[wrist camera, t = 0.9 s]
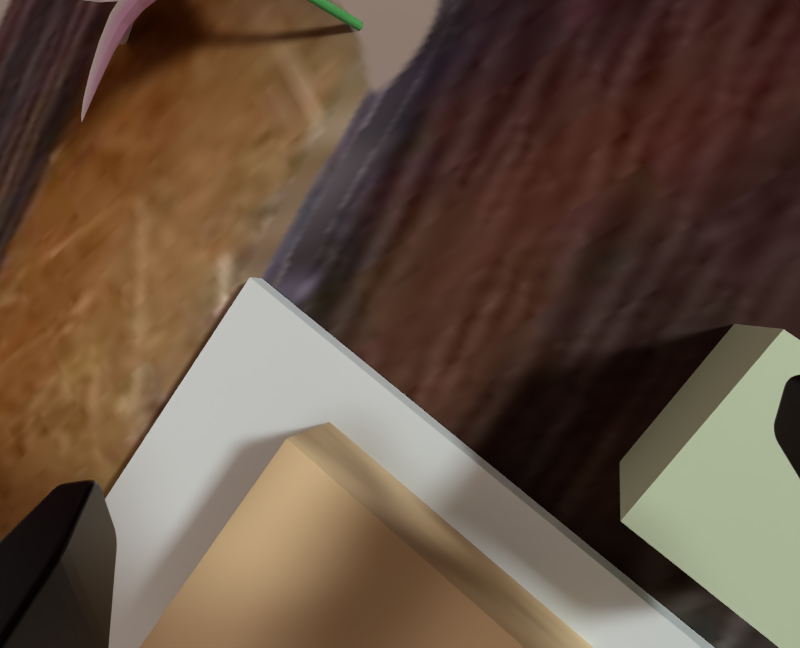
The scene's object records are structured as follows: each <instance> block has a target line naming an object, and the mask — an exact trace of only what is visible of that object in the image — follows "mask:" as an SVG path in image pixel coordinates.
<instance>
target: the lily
mask: <svg viewBox="0 0 800 648" xmlns="http://www.w3.org/2000/svg"><path fill="white" fill-rule="evenodd" d="M86 1H95V2H111V1H118V2H117V4H116V5H115V7H114V8H113V10H112V11H111V13H110V15H109V18H108V20H107V23H106V25H105V28H104V30H103V33H102V35H101V38H100V40H99V43H98V47H97V50H96V53H95V57H94V60H93V63H92V66H91V70H90V73H89V78H88V82H87V86H86V90H85V94H84V99H83V106H82V113H81V120H82V121H83V119H84V117H85V114H86V112H87V110H88V108H89V105H90V103H91V101H92V99H93V96H94V94H95V92H96V89H97V87H98V85H99V83H100V80H101V78H102V76H103V74H104V72H105V70H106V68H107V66H108V64H109V62H110V60H111V58H112V55H113V53H114V51H115V50H116V48H117V46H118V45H119V43H120V44H122V45H124V44H125V43H126V42H127V40H128V38H129V35H130V32H131V29H132V25H133V22H134V21H135V20H136V18H137V17H138V16H139V15H140V14H141V13H142V11H143V10H144V9H146V8H147V7H148V6H149V5H151V4H152V3H153V2H155V1H156V0H86ZM308 1H309V2H311V3H313V4H314V5H316V6H318V7H319V8H321V9H323V10H324V11H326V12H328V13H329V14H331V15H333V16H334V17H336V18H338V19H339V20H341V21H343V22H344V23H346V24H348V25H349V26H351V27H353V28H354V29H356V30H358V31H360V30H361V29H362V27H363V22H362V21H359V20H358V19H357V18H355V17H353V16H352V15H350V14H348V13H347V12H345V11H343V10H342V9H340V8H339V7H337V6H335V5H334V4H332V3H330V2H329V1H327V0H308Z"/></svg>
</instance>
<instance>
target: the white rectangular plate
mask: <svg viewBox="0 0 800 648" xmlns="http://www.w3.org/2000/svg"><path fill="white" fill-rule="evenodd" d="M329 422H330V423H332V424H333V425H334V426H335V427H336V428H337V429H339V430H340V431H341V432H342V433H343V434H344V435H346V436H347V437H348V438H349V439H350V440H351V441H353V442H354V443H355V444H356V445H357V446H358V447H360V448H361V449H362V450H363V451H364V452H366V453H367V454H368V455H369V456H370V457H371V458H373V459H374V460H375V461H376V462H377V463H378V464H380V465H381V466H382V467H383V468H384V469H385V470H387V471H388V472H389V473H390V474H391V475H392V476H394V477H395V478H396V479H397V480H398V481H399V482H401V483H402V484H403V485H404V486H405V487H406V488H408V489H409V490H410V491H411V492H412V493H413V494H415V495H416V496H417V497H418V498H419V499H420V500H422V501H423V502H424V503H425V504H426V505H427V506H429V507H430V508H431V509H432V510H433V511H435V512H436V513H437V514H438V515H439V516H440V517H442V518H443V519H444V520H445V521H446V522H447V523H449V524H450V525H451V526H452V527H453V528H454V529H456V530H457V531H458V532H459V533H460V534H461V535H463V536H464V537H465V538H466V539H467V540H468V541H470V542H471V543H472V544H473V545H474V546H475V547H477V548H478V549H479V550H480V551H481V552H482V553H484V554H485V555H486V556H487V557H488V558H489V559H491V560H492V561H493V562H494V563H495V564H497V565H498V566H499V567H500V568H501V569H502V570H504V571H505V572H506V573H507V574H508V575H509V576H511V577H512V578H513V579H514V580H515V581H516V582H518V583H519V584H520V585H521V586H522V587H523V588H525V589H526V590H527V591H528V592H529V593H530V594H532V595H533V596H534V597H535V598H536V599H537V600H539V601H540V602H541V603H542V604H543V605H544V606H546V607H547V608H548V609H549V610H550V611H551V612H553V613H554V614H555V615H556V616H557V617H558V618H560V619H561V620H562V621H563V622H564V623H566V624H567V625H568V626H569V627H570V628H571V629H573V630H574V631H575V632H576V633H577V634H578V635H580V636H581V637H582V638H583V639H584V640H585V641H587V642H588V643H589V644H590V645H591V646H592V647H593V648H714V647H713V646H712V645H711V644H709V643H708V642H707V641H706V640H704V639H703V638H702V637H701V636H699V635H698V634H697V633H696V632H695V631H693V630H692V629H691V628H690V627H688V626H687V625H686V624H685V623H684V622H682V621H681V620H680V619H679V618H677V617H676V616H675V615H674V614H673V613H671V612H670V611H669V610H668V609H666V608H665V607H664V606H663V605H661V604H660V603H659V602H658V601H657V600H655V599H654V598H653V597H652V596H650V595H649V594H648V593H647V592H646V591H644V590H643V589H642V588H641V587H639V586H638V585H637V584H636V583H635V582H633V581H632V580H631V579H630V578H628V577H627V576H626V575H625V574H623V573H622V572H621V571H620V570H619V569H617V568H616V567H615V566H614V565H612V564H611V563H610V562H609V561H608V560H606V559H605V558H604V557H603V556H601V555H600V554H599V553H598V552H597V551H595V550H594V549H593V548H592V547H590V546H589V545H588V544H587V543H585V542H584V541H583V540H582V539H581V538H579V537H578V536H577V535H576V534H574V533H573V532H572V531H571V530H570V529H568V528H567V527H566V526H565V525H563V524H562V523H561V522H560V521H559V520H557V519H556V518H555V517H554V516H552V515H551V514H550V513H549V512H547V511H546V510H545V509H544V508H543V507H541V506H540V505H539V504H538V503H536V502H535V501H534V500H533V499H532V498H530V497H529V496H528V495H527V494H525V493H524V492H523V491H522V490H521V489H519V488H518V487H517V486H516V485H514V484H513V483H512V482H511V481H509V480H508V479H507V478H506V477H505V476H503V475H502V474H501V473H500V472H498V471H497V470H496V469H495V468H494V467H492V466H491V465H490V464H489V463H487V462H486V461H485V460H484V459H483V458H481V457H480V456H479V455H478V454H476V453H475V452H474V451H473V450H472V449H470V448H469V447H468V446H467V445H465V444H464V443H463V442H462V441H460V440H459V439H458V438H457V437H456V436H454V435H453V434H452V433H451V432H449V431H448V430H447V429H446V428H445V427H443V426H442V425H441V424H440V423H438V422H437V421H436V420H435V419H434V418H432V417H431V416H430V415H429V414H427V413H426V412H425V411H424V410H422V409H421V408H420V407H419V406H418V405H416V404H415V403H414V402H413V401H411V400H410V399H409V398H408V397H407V396H405V395H404V394H403V393H402V392H400V391H399V390H398V389H397V388H396V387H394V386H393V385H392V384H391V383H389V382H388V381H387V380H386V379H384V378H383V377H382V376H381V375H380V374H378V373H377V372H376V371H375V370H373V369H372V368H371V367H370V366H369V365H367V364H366V363H365V362H364V361H362V360H361V359H360V358H359V357H358V356H356V355H355V354H354V353H353V352H351V351H350V350H349V349H348V348H346V347H345V346H344V345H343V344H342V343H340V342H339V341H338V340H337V339H335V338H334V337H333V336H332V335H331V334H329V333H328V332H327V331H326V330H324V329H323V328H322V327H321V326H320V325H318V324H317V323H316V322H315V321H313V320H312V319H311V318H310V317H308V316H307V315H306V314H305V313H304V312H302V311H301V310H300V309H299V308H297V307H296V306H295V305H294V304H293V303H291V302H290V301H289V300H288V299H286V298H285V297H284V296H283V295H282V294H280V293H279V292H278V291H277V290H275V289H274V288H273V287H272V286H270V285H269V284H268V283H267V282H266V281H264V280H263V279H262V278H252V277H250V278H249V279H248V281H247V282H246V284H245V285H244V287H243V289H242V290H241V292H240V293H239V295H238V296H237V298H236V299H235V301H234V302H233V304H232V305H231V307H230V308H229V310H228V312H227V313H226V315H225V316H224V318H223V319H222V321H221V322H220V324H219V325H218V327H217V328H216V330H215V331H214V333H213V335H212V336H211V338H210V339H209V341H208V342H207V344H206V345H205V347H204V348H203V350H202V351H201V353H200V354H199V356H198V357H197V359H196V361H195V362H194V364H193V365H192V367H191V368H190V370H189V371H188V373H187V374H186V376H185V377H184V379H183V380H182V382H181V384H180V385H179V387H178V388H177V390H176V391H175V393H174V394H173V396H172V397H171V399H170V400H169V402H168V403H167V405H166V406H165V408H164V410H163V411H162V413H161V414H160V416H159V417H158V419H157V420H156V422H155V423H154V425H153V426H152V428H151V429H150V431H149V433H148V434H147V436H146V437H145V439H144V440H143V442H142V443H141V445H140V446H139V448H138V449H137V451H136V452H135V454H134V456H133V457H132V459H131V460H130V462H129V463H128V465H127V466H126V468H125V469H124V471H123V472H122V474H121V475H120V477H119V478H118V480H117V482H116V483H115V485H114V486H113V488H112V489H111V491H110V492H109V494H108V495H107V497H106V498H105V501H106V504H107V507H108V510H109V513H110V516H111V519H112V522H113V524H114V528H115V532H116V539H117V551H116V563H115V575H114V587H113V600H112V612H111V624H110V636H109V648H139V647H140V646H141V645H142V643H143V642H144V640H145V639H146V637H147V636H148V635H149V633H150V632H151V630H152V629H153V628H154V626H155V625H156V623H157V622H158V620H159V619H160V618H161V616H162V615H163V613H164V612H165V610H166V609H167V608H168V606H169V605H170V603H171V602H172V601H173V599H174V598H175V596H176V595H177V593H178V592H179V591H180V589H181V588H182V586H183V585H184V583H185V582H186V581H187V579H188V578H189V576H190V575H191V574H192V572H193V571H194V569H195V568H196V566H197V565H198V564H199V562H200V561H201V559H202V558H203V556H204V555H205V554H206V552H207V551H208V549H209V548H210V547H211V545H212V544H213V542H214V541H215V539H216V538H217V537H218V535H219V534H220V532H221V531H222V529H223V528H224V527H225V525H226V524H227V522H228V521H229V520H230V518H231V517H232V515H233V514H234V512H235V511H236V510H237V508H238V507H239V505H240V504H241V502H242V501H243V500H244V498H245V497H246V495H247V494H248V493H249V491H250V490H251V488H252V487H253V485H254V484H255V483H256V481H257V480H258V478H259V477H260V475H261V474H262V473H263V471H264V470H265V468H266V467H267V466H268V464H269V463H270V461H271V460H272V458H273V457H274V456H275V454H276V453H277V451H278V450H279V448H280V447H281V446H282V444H283V443H284V441H285V440H286V439H287V438H289V437H292V436H294V435H297V434H300V433H302V432H305V431H307V430H310V429H313V428H315V427H318V426H321V425H323V424H326V423H329Z"/></svg>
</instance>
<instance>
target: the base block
mask: <svg viewBox="0 0 800 648" xmlns="http://www.w3.org/2000/svg"><path fill="white" fill-rule="evenodd" d="M139 648H593V647H592V646H591V645H590V644H589V643H588V642H587V641H585V640H584V639H583V638H582V637H581V636H580V635H578V634H577V633H576V632H575V631H574V630H573V629H571V628H570V627H569V626H568V625H567V624H566V623H564V622H563V621H562V620H561V619H560V618H558V617H557V616H556V615H555V614H554V613H553V612H551V611H550V610H549V609H548V608H547V607H546V606H544V605H543V604H542V603H541V602H540V601H539V600H537V599H536V598H535V597H534V596H533V595H532V594H530V593H529V592H528V591H527V590H526V589H525V588H523V587H522V586H521V585H520V584H519V583H518V582H516V581H515V580H514V579H513V578H512V577H511V576H509V575H508V574H507V573H506V572H505V571H504V570H502V569H501V568H500V567H499V566H498V565H497V564H495V563H494V562H493V561H492V560H491V559H489V558H488V557H487V556H486V555H485V554H484V553H482V552H481V551H480V550H479V549H478V548H477V547H475V546H474V545H473V544H472V543H471V542H470V541H468V540H467V539H466V538H465V537H464V536H463V535H461V534H460V533H459V532H458V531H457V530H456V529H454V528H453V527H452V526H451V525H450V524H449V523H447V522H446V521H445V520H444V519H443V518H442V517H440V516H439V515H438V514H437V513H436V512H435V511H433V510H432V509H431V508H430V507H429V506H427V505H426V504H425V503H424V502H423V501H422V500H420V499H419V498H418V497H417V496H416V495H415V494H413V493H412V492H411V491H410V490H409V489H408V488H406V487H405V486H404V485H403V484H402V483H401V482H399V481H398V480H397V479H396V478H395V477H394V476H392V475H391V474H390V473H389V472H388V471H387V470H385V469H384V468H383V467H382V466H381V465H380V464H378V463H377V462H376V461H375V460H374V459H373V458H371V457H370V456H369V455H368V454H367V453H366V452H364V451H363V450H362V449H361V448H360V447H358V446H357V445H356V444H355V443H354V442H353V441H351V440H350V439H349V438H348V437H347V436H346V435H344V434H343V433H342V432H341V431H340V430H339V429H337V428H336V427H335V426H334V425H333V424H332V423H330V422H329V423H326V424H323V425H321V426H318V427H315V428H313V429H310V430H307V431H305V432H302V433H300V434H297V435H294V436H292V437H289V438H287V439H286V440H285V441H284V443H283V444H282V446H281V447H280V448H279V450H278V451H277V453H276V454H275V456H274V457H273V458H272V460H271V461H270V463H269V464H268V466H267V467H266V468H265V470H264V471H263V473H262V474H261V475H260V477H259V478H258V480H257V481H256V483H255V484H254V485H253V487H252V488H251V490H250V491H249V493H248V494H247V495H246V497H245V498H244V500H243V501H242V502H241V504H240V505H239V507H238V508H237V510H236V511H235V512H234V514H233V515H232V517H231V518H230V520H229V521H228V522H227V524H226V525H225V527H224V528H223V529H222V531H221V532H220V534H219V535H218V537H217V538H216V539H215V541H214V542H213V544H212V545H211V547H210V548H209V549H208V551H207V552H206V554H205V555H204V556H203V558H202V559H201V561H200V562H199V564H198V565H197V566H196V568H195V569H194V571H193V572H192V574H191V575H190V576H189V578H188V579H187V581H186V582H185V583H184V585H183V586H182V588H181V589H180V591H179V592H178V593H177V595H176V596H175V598H174V599H173V601H172V602H171V603H170V605H169V606H168V608H167V609H166V610H165V612H164V613H163V615H162V616H161V618H160V619H159V620H158V622H157V623H156V625H155V626H154V628H153V629H152V630H151V632H150V633H149V635H148V636H147V637H146V639H145V640H144V642H143V643H142V645H141V646H140V647H139Z"/></svg>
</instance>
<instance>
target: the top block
mask: <svg viewBox="0 0 800 648" xmlns="http://www.w3.org/2000/svg"><path fill="white" fill-rule="evenodd" d="M795 375H800V340H799V339H797V338H796V337H794V336H793V335H791V334H790V333H788V332H787V331H785V330H784V329H776V328H767V327H757V326H748V325H739V324H734V325H733V326H732V327H731V328H730V330H729V331H728V332H727V333H726V334H725V336H724V337H723V338H722V339H721V340H720V342H719V343H718V344H717V345H716V346H715V348H714V349H713V350H712V351H711V352H710V354H709V355H708V356H707V357H706V358H705V360H704V361H703V362H702V363H701V365H700V366H699V367H698V368H697V369H696V371H695V372H694V373H693V374H692V375H691V377H690V378H689V379H688V380H687V381H686V383H685V384H684V385H683V386H682V387H681V389H680V390H679V391H678V392H677V393H676V395H675V396H674V397H673V398H672V399H671V401H670V402H669V403H668V404H667V405H666V407H665V408H664V409H663V410H662V411H661V413H660V414H659V415H658V416H657V417H656V419H655V420H654V421H653V422H652V423H651V425H650V426H649V427H648V428H647V430H646V431H645V432H644V433H643V434H642V436H641V437H640V438H639V439H638V440H637V442H636V443H635V444H634V445H633V446H632V448H631V449H630V450H629V451H628V452H627V454H626V455H625V456H624V457H623V458H622V460H621V461H620V521H621V522H622V523H623V524H625V525H626V526H627V527H628V528H630V529H631V530H632V531H633V532H635V533H636V534H637V535H638V536H640V537H641V538H642V539H643V540H645V541H646V542H647V543H648V544H650V545H651V546H652V547H654V548H655V549H656V550H657V551H659V552H660V553H661V554H662V555H664V556H665V557H666V558H667V559H669V560H670V561H671V562H672V563H674V564H675V565H676V566H677V567H679V568H680V569H681V570H682V571H684V572H685V573H686V574H687V575H689V576H690V577H691V578H692V579H694V580H695V581H696V582H697V583H699V584H700V585H701V586H702V587H704V588H705V589H706V590H708V591H709V592H710V593H711V594H713V595H714V596H715V597H716V598H718V599H719V600H720V601H721V602H723V603H724V604H725V605H726V606H728V607H729V608H730V609H731V610H733V611H734V612H735V613H736V614H738V615H739V616H740V617H741V618H743V619H744V620H745V621H746V622H748V623H749V624H750V625H751V626H753V627H754V628H755V629H756V630H758V631H759V632H760V633H762V634H763V635H764V636H765V637H767V638H768V639H769V640H770V641H772V642H773V643H774V644H775V645H777V646H778V647H779V648H800V479H799V477H798V475H797V474H796V472H795V470H794V469H793V467H792V465H791V464H790V462H789V460H788V459H787V457H786V455H785V454H784V452H783V451H782V449H781V447H780V446H779V444H778V442H777V440H776V437H775V433H774V421H775V418H776V414H777V411H778V407H779V404H780V400H781V397H782V393H783V390H784V386H785V384H786V382H787V381H788V380H789V379H790V378H791V377H793V376H795Z"/></svg>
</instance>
